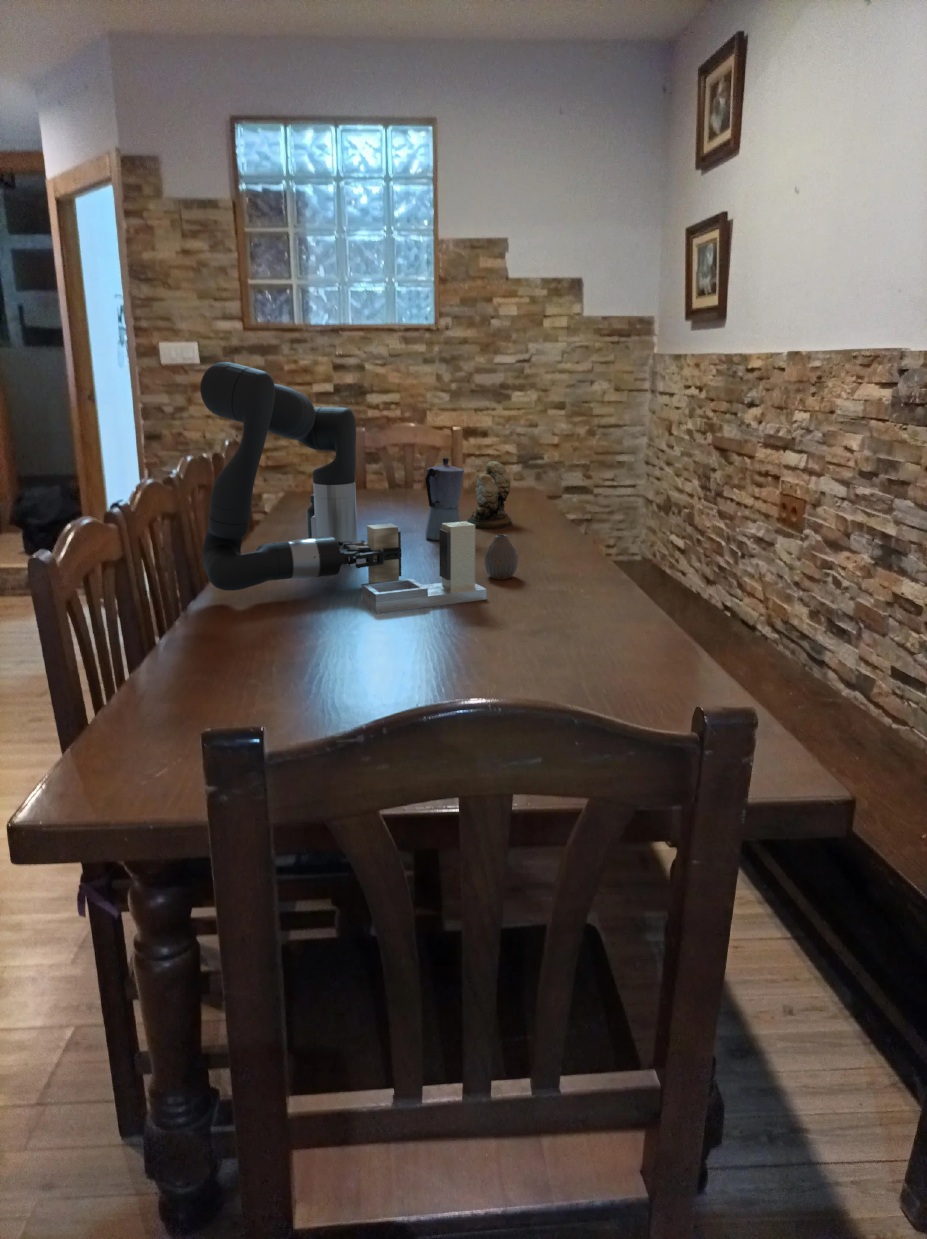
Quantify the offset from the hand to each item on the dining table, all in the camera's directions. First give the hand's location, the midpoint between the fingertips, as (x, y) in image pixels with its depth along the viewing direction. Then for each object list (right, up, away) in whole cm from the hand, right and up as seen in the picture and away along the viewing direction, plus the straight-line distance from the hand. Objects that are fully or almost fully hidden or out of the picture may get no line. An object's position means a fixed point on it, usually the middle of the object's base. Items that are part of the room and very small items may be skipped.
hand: (395, 549), depth 172 cm
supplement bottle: (-21, +4, +39) cm, 44 cm away
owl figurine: (+21, +12, +66) cm, 70 cm away
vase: (+21, -5, +8) cm, 23 cm away
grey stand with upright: (+6, -10, -10) cm, 16 cm away
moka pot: (+8, +6, +45) cm, 46 cm away
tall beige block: (-2, -7, +1) cm, 7 cm away
